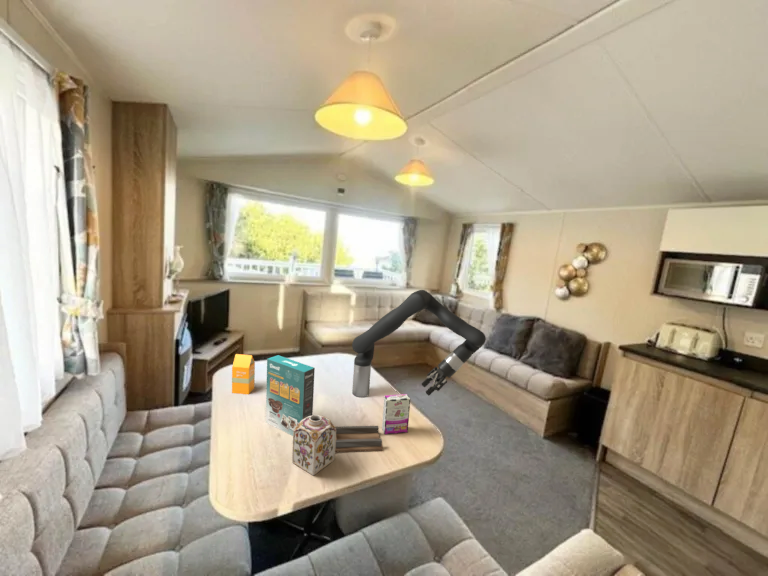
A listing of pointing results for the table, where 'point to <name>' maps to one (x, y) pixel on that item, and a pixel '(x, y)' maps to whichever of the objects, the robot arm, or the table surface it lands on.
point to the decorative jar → (314, 443)
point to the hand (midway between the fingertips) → (424, 389)
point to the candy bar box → (396, 414)
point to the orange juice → (243, 374)
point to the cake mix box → (288, 393)
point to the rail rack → (357, 439)
